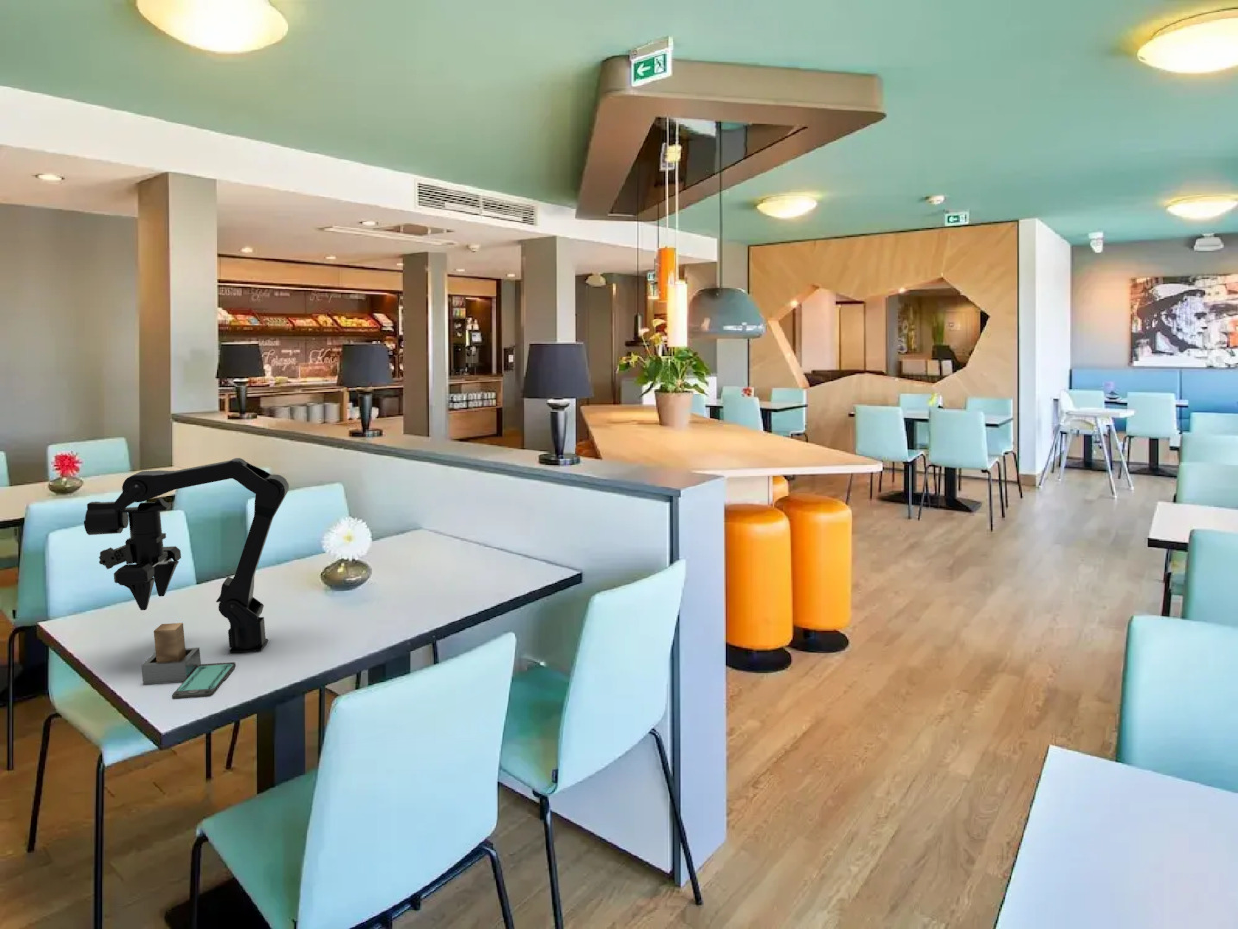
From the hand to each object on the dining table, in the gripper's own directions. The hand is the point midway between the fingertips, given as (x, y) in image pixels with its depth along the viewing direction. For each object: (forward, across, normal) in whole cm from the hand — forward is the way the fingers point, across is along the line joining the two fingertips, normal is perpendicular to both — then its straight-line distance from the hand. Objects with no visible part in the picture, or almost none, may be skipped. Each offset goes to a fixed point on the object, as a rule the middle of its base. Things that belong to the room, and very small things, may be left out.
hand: (152, 602), depth 165 cm
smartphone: (+13, +15, +15) cm, 25 cm away
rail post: (+12, +11, +7) cm, 18 cm away
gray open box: (+12, +11, +7) cm, 18 cm away
